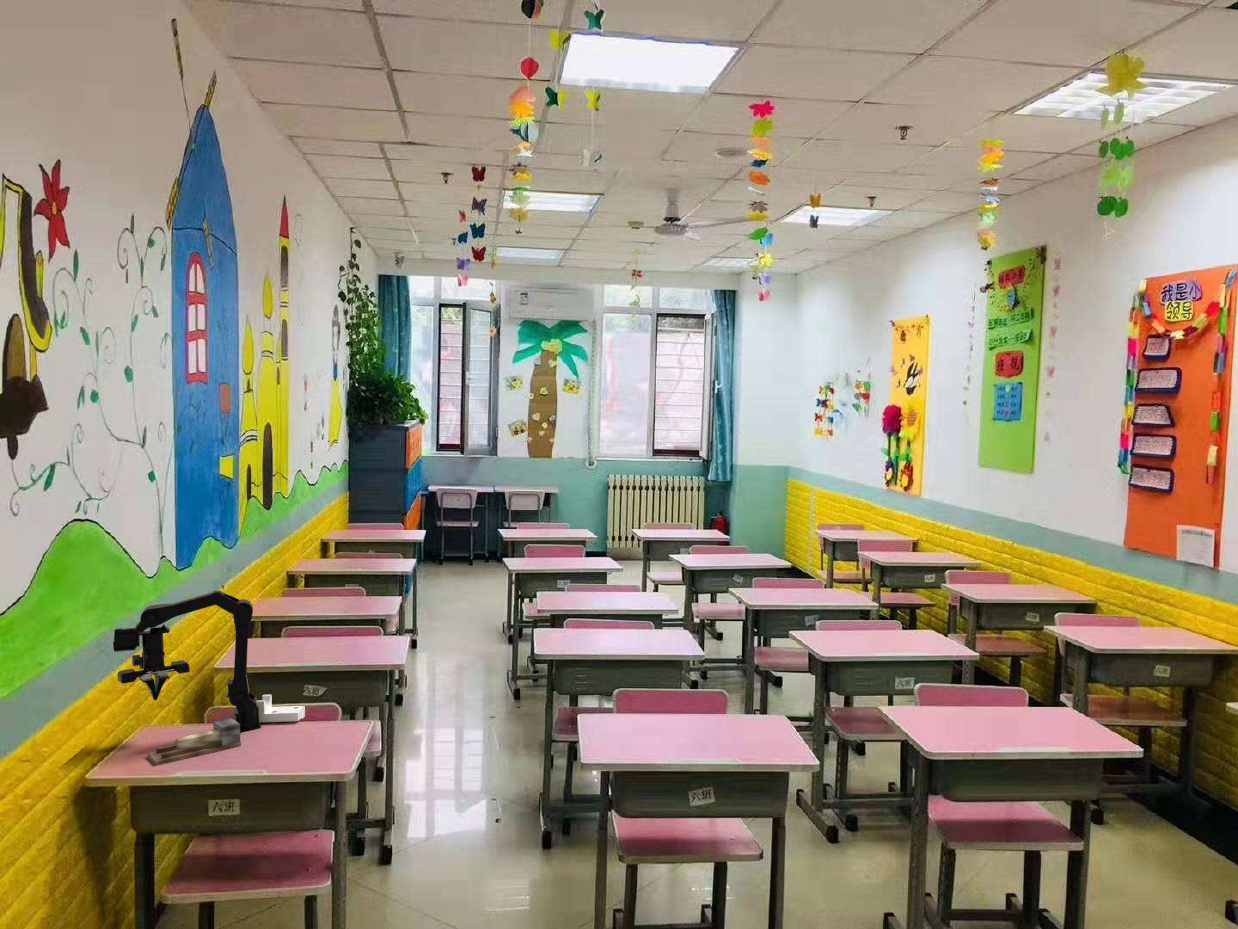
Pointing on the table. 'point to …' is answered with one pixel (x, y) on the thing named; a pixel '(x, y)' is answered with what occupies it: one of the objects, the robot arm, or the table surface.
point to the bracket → (278, 711)
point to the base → (228, 740)
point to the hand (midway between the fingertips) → (155, 700)
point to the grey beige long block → (197, 739)
